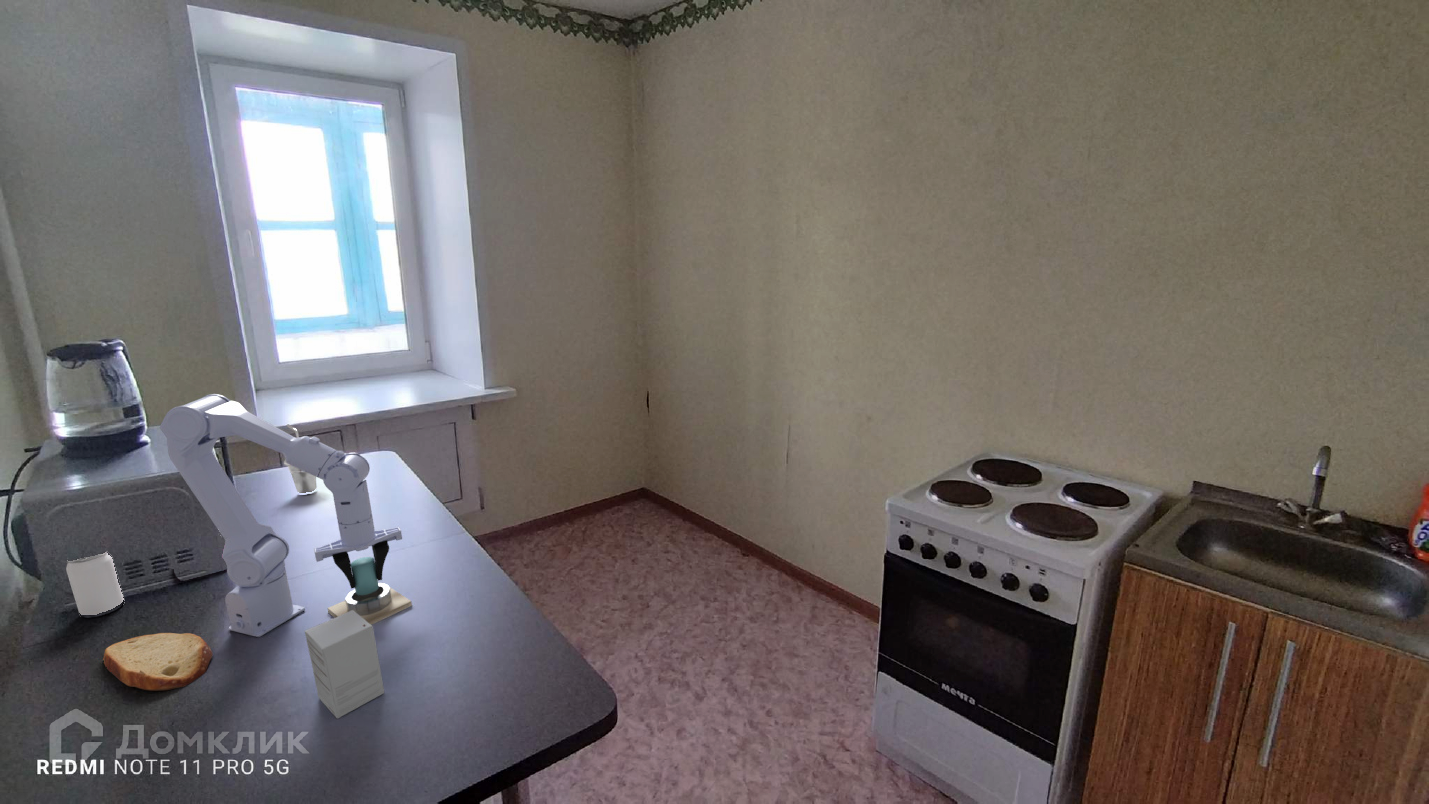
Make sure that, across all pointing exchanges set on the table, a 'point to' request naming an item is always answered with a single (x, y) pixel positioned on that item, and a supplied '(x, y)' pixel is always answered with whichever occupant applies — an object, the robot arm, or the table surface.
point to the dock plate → (395, 606)
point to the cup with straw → (301, 474)
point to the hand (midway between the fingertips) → (366, 582)
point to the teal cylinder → (364, 575)
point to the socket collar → (369, 601)
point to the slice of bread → (158, 660)
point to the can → (94, 584)
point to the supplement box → (345, 662)
